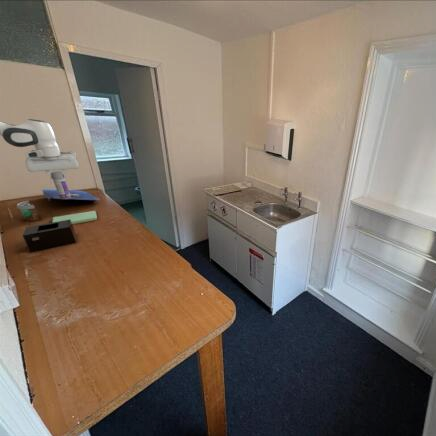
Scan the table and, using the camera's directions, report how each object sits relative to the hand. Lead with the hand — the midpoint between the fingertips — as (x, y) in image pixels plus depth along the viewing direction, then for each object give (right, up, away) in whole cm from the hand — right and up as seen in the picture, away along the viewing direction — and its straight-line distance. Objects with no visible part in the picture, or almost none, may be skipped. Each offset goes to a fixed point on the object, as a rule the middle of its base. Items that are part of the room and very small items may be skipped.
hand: (58, 178), depth 129 cm
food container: (-28, -23, +11) cm, 38 cm away
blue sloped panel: (-33, -15, +41) cm, 55 cm away
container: (0, -11, +5) cm, 12 cm away
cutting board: (-2, -23, +13) cm, 27 cm away
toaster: (+11, -35, -12) cm, 39 cm away
